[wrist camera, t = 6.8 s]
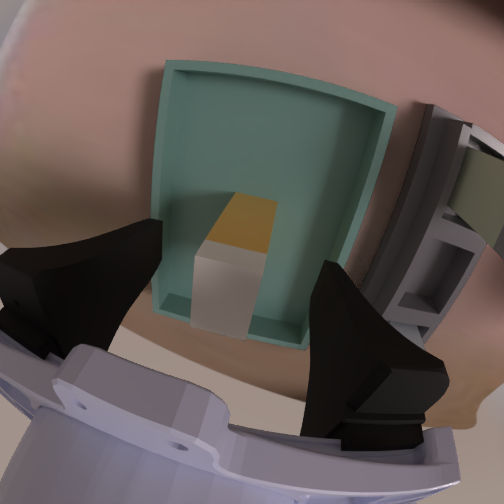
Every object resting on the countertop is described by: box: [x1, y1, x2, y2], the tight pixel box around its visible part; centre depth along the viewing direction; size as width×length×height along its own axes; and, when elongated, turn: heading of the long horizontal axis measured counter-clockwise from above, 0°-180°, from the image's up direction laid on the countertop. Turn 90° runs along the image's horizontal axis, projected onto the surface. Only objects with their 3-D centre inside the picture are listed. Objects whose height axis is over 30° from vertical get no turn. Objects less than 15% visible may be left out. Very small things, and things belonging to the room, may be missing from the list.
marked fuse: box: [190, 192, 278, 341], centre depth 13 cm, size 4×2×7 cm, turn 169°
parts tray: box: [151, 60, 398, 350], centre depth 15 cm, size 16×11×2 cm
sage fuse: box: [447, 146, 504, 260], centre depth 9 cm, size 4×2×7 cm, turn 169°
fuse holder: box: [359, 104, 504, 344], centre depth 15 cm, size 18×7×3 cm, turn 169°
